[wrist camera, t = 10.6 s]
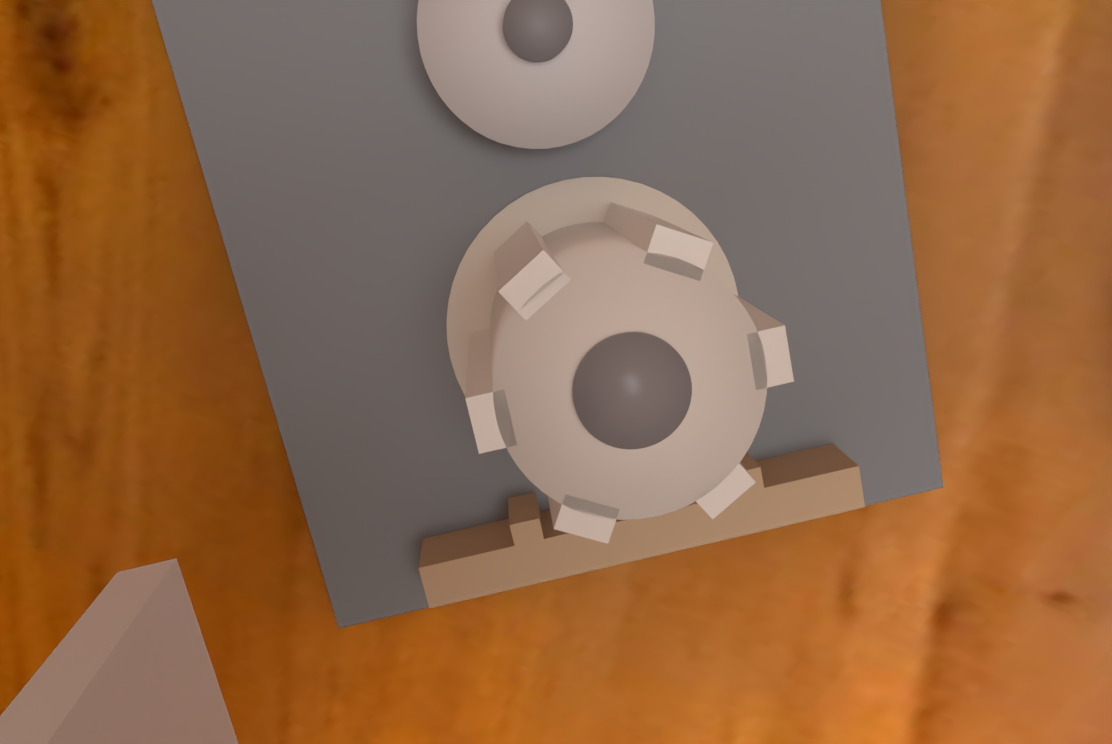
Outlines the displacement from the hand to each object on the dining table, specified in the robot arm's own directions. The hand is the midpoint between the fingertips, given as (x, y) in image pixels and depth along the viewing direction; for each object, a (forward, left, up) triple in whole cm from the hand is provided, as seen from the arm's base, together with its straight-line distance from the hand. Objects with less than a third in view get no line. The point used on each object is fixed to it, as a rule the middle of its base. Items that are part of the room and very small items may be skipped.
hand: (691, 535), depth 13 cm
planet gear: (0, 0, -14) cm, 14 cm away
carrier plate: (0, +2, -16) cm, 16 cm away
